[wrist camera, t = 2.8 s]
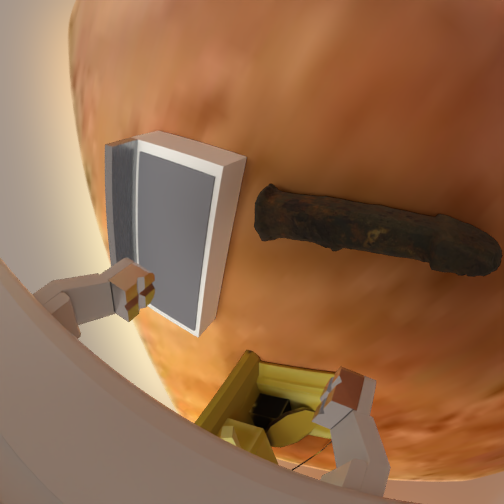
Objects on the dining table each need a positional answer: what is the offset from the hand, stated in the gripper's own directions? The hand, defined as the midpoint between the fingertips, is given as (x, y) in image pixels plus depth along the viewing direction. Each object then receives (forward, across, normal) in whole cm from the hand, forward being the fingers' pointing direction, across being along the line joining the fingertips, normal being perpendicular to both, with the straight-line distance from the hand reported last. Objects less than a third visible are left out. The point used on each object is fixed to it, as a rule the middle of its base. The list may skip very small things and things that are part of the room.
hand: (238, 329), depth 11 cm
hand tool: (+18, 0, 0) cm, 18 cm away
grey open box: (+15, +12, +8) cm, 21 cm away
